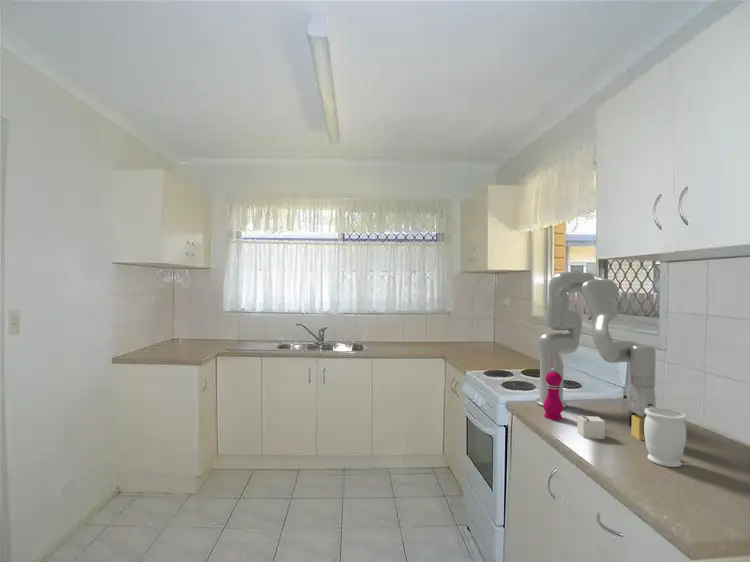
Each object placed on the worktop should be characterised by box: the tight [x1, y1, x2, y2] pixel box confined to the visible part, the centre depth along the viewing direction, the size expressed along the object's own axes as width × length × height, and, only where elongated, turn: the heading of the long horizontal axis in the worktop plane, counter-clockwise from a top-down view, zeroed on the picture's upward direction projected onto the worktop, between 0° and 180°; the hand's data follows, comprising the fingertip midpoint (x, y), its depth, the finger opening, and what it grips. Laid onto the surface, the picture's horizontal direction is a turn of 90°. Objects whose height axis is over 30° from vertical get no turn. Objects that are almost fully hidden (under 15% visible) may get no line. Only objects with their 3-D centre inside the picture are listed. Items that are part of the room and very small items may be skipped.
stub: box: [631, 415, 645, 441], centre depth 148 cm, size 5×4×7 cm
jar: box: [644, 407, 687, 468], centre depth 129 cm, size 11×10×15 cm
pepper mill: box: [542, 368, 564, 421], centre depth 168 cm, size 7×7×20 cm
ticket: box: [577, 414, 606, 440], centre depth 149 cm, size 5×7×6 cm
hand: (641, 430), depth 148 cm, fingers open, 8 cm apart
